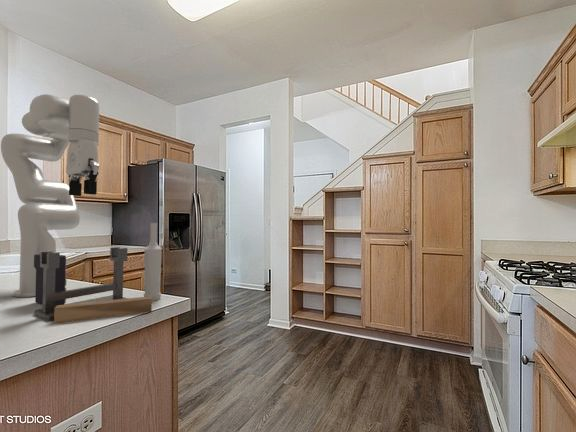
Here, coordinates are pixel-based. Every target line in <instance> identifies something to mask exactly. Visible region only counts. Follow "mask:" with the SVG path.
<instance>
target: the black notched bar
mask: <svg viewBox="0 0 576 432" xmlns="http://www.w3.org/2000/svg"><path fill="white" fill-rule="evenodd" d="M34 267H35V269H36V293H35V296H34V297H35V298H34V301H35V304H37V305H38V304H39V305H41V306H43V269H44V268H42V267H40V254H36V255H34ZM67 275H68V273H67V257H66V255H63V254H60V263H59V268H56V274H55V292H60V291H66V290H67V287H66V286H67V279H68V278H67ZM64 304H67V299H63V300H57V301H55V306H58V305H64Z"/></svg>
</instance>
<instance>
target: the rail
mask: <svg viewBox="0 0 576 432" xmlns="http://www.w3.org/2000/svg"><path fill="white" fill-rule="evenodd" d="M127 298H128V297H127ZM152 303H153V301H152V298H151V296H148V297H144V296H140V297H131V298H128V299H118V300H108V301H98V302H88V303H78V304H69V303H67V304H68V305H58V306H56V307H55V311H54V321H53V324H63V323H70V322H77V321H86V320H87V321H88V320H94V319H95V320H96V319H103V318H111V317H112V318H113V317H121V316H128V315H129V316H130V315H135V314H143V313H150V312H152V307H153V306H152Z"/></svg>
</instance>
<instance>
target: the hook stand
mask: <svg viewBox="0 0 576 432" xmlns="http://www.w3.org/2000/svg"><path fill="white" fill-rule="evenodd" d="M109 249H110V251H109V254H110V257H109V260H110V261H113V271H112V272H113V273H112V274H113V277H112V278H113V281H112V282H111V283H110V282H109V283H104V284H97V285H92V286H86V287H79V288H74V289H73V288H72V289H66V291H60V292H55V274H56V268H59V263H60V255H61V252H56V253H53V252H52V251H50V252H40V267H42V268H44V269H43V305H41V307H42V308H39V309H34V310H33V311H34V312H33V314H34V316H36V317H38V318H40V319H42V320H45V321H47V322H54V311H55V307H56V306H55V301H57V300H63V299H66V300H68V299H73V298H79V297H84V296H91V295H95V294H101V293H105V292H106V293H107V292H112V295H106V296H101V297H96V298H91V299H85V300H80V301H74V302H70V303H65V304H64V305H68V304H78V303H88V302H98V301H108V300H118V299H128V297H125V296H124V262H127V261H128V247H122V248H121V247H120V246H119V247H118V246H117V247H110V248H109Z"/></svg>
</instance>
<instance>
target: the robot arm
mask: <svg viewBox="0 0 576 432" xmlns="http://www.w3.org/2000/svg"><path fill="white" fill-rule="evenodd" d="M21 124H22V125H21V126H23V127H24V129H25V130H26V131H27V132H29V133H31V134H33V135H36V136H33V135H30V134H24V133H7V134H5V135H4V136H2V139H1V142H0V151H1V152H0V153H1V156H2V159H3V161H4V163H5V165H6V166H7V168H8V170H9V171H10V173H11V174H12V179H13V181H14V185H15V189H16V193H17V194H16V195H18V196H17V197H18V199H19V200H20V202H22V203H23V205H21V206H20V207H19V209H18V210H17V220H18V225H19V232H20V253H19V254H20V259H19V289H17V290H14V291H13V294H12V296H13V297H18V298H28V297H31V298H32V297H35V293H36V269H35V267H34V255H36V254H40V252H50V251H52V252H53V253H57V251H56V249H57V244H56V240H55V238H54V237H53V236H52V234H51V233H50V232H49V231H52V230H55V231H56V230H58V231H61V230H73V229H75V228H77V227H78V226H79V224H80V221H81V220H80V219H81V216H80V211H79V208H78V204H77V202H76V199H75V198H76V197H81V196H82V192H83V194H84V195H93V196H95V195H97V193H98V192H97V191H98V187H97V186H98V179H99V178H98V176H99V170H100V163H99V153H98V152H99V151H98V150H99V149H98V146H99V141H100V140H99V137H100V136H99V134H100V132H99V131H100V104H99V102H98V100H97V99H96V98H93V97H91V96H88V95H84V94H73V95H71V96H70V97H69V99H65V98H63V97H59V96H56V95H53V94H48V93H47V94H45V93H43V94H40V95H37V96H35V97H34V98H32V101H31V102H30V104H29V112H26V113H25V114H24V115H23V116H22V118H21ZM38 136H39V137H38ZM40 136H41V137H40ZM44 137H45V138H44ZM67 148H68V149H67ZM66 149H67V155H66V156H67V157H66V168H65V169H66V170H65V173H66V175H68V184H67V183H65V182H61V181H55V180H54V181H53V180H48V179H45V178H44V174H43V170H42V169H41V168H40V167H39V166H38V165H37V164H36V163H35V162H33V161H32V160H38V161H46V162H58V161H59V160H61V159H62V157H63V155H64V153H65V152H66ZM30 159H32V160H30ZM83 178H84V180H83V184H82V182H81V181H82V179H83ZM82 185H83V191H82Z"/></svg>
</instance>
